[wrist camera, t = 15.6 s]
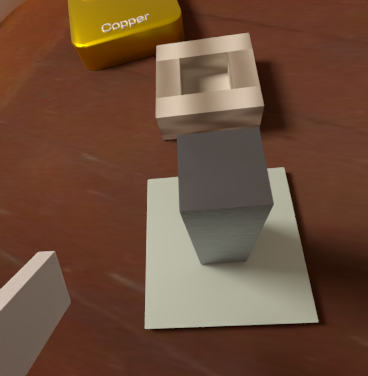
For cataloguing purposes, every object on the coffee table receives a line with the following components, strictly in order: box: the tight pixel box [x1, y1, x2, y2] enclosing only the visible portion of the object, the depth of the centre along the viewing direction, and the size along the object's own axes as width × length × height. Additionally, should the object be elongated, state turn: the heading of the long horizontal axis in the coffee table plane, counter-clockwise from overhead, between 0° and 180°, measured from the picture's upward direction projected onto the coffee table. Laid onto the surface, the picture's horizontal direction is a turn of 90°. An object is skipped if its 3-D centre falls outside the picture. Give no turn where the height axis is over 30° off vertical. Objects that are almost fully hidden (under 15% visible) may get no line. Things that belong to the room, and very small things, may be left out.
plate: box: [145, 167, 318, 329], centre depth 26 cm, size 14×14×1 cm
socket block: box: [156, 33, 264, 140], centre depth 32 cm, size 11×11×4 cm
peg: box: [177, 127, 274, 265], centre depth 19 cm, size 4×4×14 cm
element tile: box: [68, 0, 185, 71], centre depth 40 cm, size 15×15×5 cm
